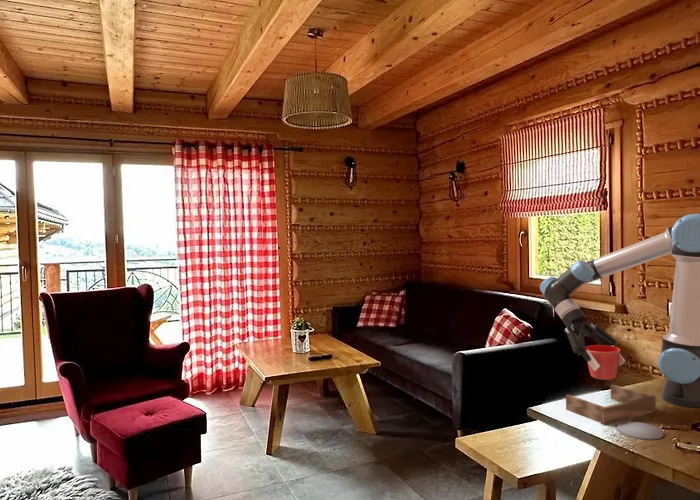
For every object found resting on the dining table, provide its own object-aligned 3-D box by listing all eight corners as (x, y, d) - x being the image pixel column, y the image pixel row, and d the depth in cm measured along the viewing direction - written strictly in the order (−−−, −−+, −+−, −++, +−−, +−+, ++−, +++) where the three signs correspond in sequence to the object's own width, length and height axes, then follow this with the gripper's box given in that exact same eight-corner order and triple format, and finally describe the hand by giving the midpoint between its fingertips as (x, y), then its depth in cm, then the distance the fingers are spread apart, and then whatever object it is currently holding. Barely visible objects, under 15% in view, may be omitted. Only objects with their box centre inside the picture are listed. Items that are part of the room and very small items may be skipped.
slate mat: (651, 423, 156) (651, 421, 156) (671, 439, 144) (671, 437, 144) (611, 423, 157) (610, 422, 157) (627, 439, 145) (626, 437, 145)
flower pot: (626, 381, 164) (625, 351, 164) (590, 381, 166) (589, 351, 166) (616, 372, 174) (614, 344, 174) (582, 372, 176) (580, 344, 176)
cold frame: (564, 409, 171) (564, 395, 171) (614, 398, 180) (614, 384, 180) (604, 424, 157) (603, 409, 157) (655, 411, 166) (655, 396, 166)
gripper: (589, 317, 188) (628, 366, 174) (540, 324, 179) (578, 377, 165) (600, 304, 183) (641, 354, 169) (551, 311, 174) (590, 365, 160)
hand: (610, 366), depth 167 cm, fingers closed on flower pot, 11 cm apart
